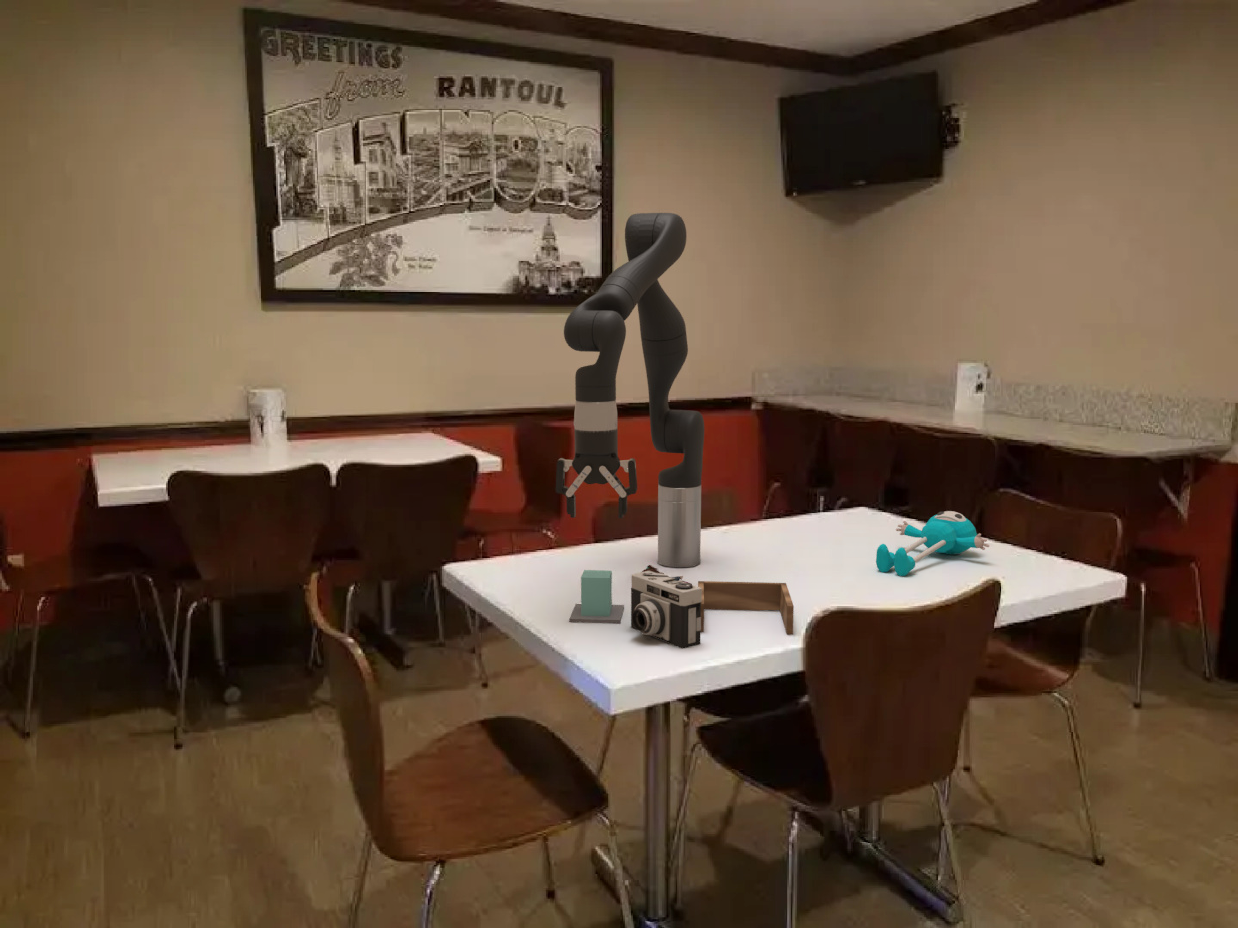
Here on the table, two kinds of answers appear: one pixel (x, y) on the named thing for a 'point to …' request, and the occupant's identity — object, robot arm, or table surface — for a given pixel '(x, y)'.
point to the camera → (666, 608)
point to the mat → (613, 618)
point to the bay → (747, 598)
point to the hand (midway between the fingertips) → (596, 517)
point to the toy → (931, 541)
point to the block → (596, 593)
